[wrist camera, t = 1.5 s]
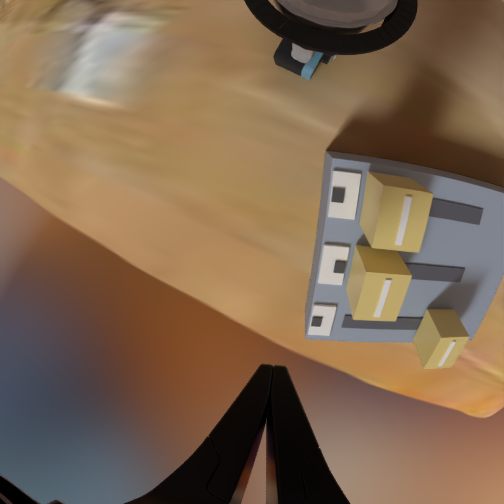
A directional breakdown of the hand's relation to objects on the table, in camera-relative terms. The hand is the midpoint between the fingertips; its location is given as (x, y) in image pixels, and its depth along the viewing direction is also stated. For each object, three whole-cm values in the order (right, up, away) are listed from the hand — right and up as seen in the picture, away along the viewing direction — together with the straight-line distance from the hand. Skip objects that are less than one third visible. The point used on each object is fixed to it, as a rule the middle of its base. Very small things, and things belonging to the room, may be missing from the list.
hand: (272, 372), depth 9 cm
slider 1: (+6, +7, +4) cm, 10 cm away
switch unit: (+10, +4, +9) cm, 14 cm away
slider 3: (+12, -1, +7) cm, 14 cm away
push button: (+3, +16, +4) cm, 17 cm away
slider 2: (+6, +3, +6) cm, 9 cm away
